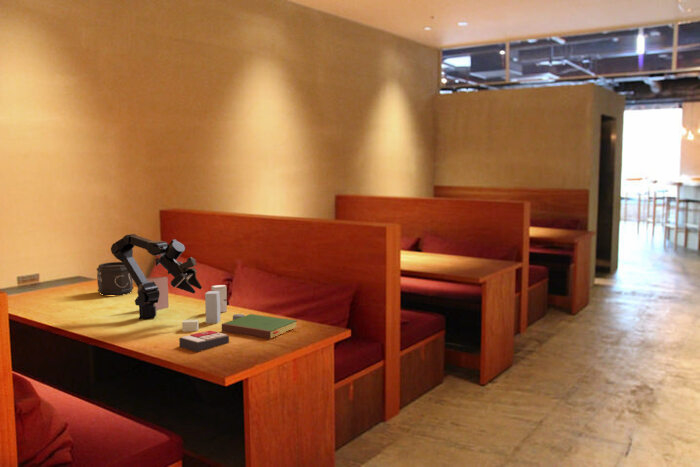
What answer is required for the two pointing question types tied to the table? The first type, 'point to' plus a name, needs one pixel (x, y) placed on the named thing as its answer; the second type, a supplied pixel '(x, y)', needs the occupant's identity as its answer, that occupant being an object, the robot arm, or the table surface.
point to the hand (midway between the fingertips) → (198, 290)
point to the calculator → (203, 340)
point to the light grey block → (212, 306)
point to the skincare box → (221, 296)
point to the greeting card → (161, 291)
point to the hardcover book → (258, 326)
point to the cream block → (190, 325)
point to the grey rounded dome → (237, 316)
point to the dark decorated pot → (114, 279)
